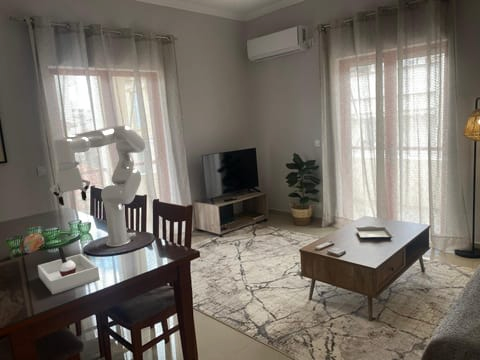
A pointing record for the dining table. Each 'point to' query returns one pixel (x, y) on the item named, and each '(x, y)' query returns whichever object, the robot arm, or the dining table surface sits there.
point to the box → (57, 283)
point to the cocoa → (66, 264)
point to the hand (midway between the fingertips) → (73, 202)
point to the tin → (32, 242)
